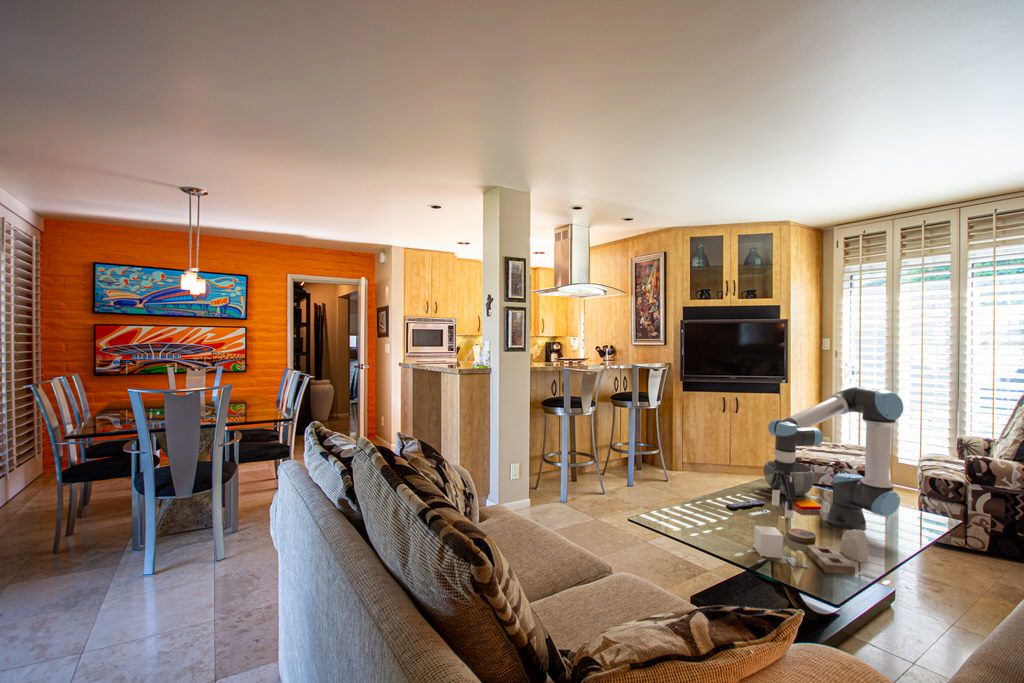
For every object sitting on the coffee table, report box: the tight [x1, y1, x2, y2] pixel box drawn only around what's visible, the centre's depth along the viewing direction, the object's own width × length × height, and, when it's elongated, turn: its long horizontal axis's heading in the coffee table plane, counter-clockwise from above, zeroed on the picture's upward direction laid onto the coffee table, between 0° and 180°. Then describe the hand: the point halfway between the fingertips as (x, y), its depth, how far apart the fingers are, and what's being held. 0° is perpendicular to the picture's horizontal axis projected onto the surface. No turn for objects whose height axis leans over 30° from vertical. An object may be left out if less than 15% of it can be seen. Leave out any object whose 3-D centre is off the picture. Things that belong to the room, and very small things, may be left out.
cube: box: [753, 525, 784, 559], centre depth 201 cm, size 8×8×9 cm
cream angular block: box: [786, 550, 809, 569], centre depth 192 cm, size 6×6×5 cm
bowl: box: [763, 460, 815, 497], centre depth 273 cm, size 24×24×15 cm
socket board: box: [806, 545, 856, 575], centre depth 193 cm, size 16×10×3 cm, turn 172°
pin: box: [777, 515, 787, 548], centre depth 207 cm, size 3×3×12 cm
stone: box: [838, 529, 870, 563], centre depth 198 cm, size 10×5×12 cm, turn 19°
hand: (781, 511), depth 207 cm, fingers open, 13 cm apart
